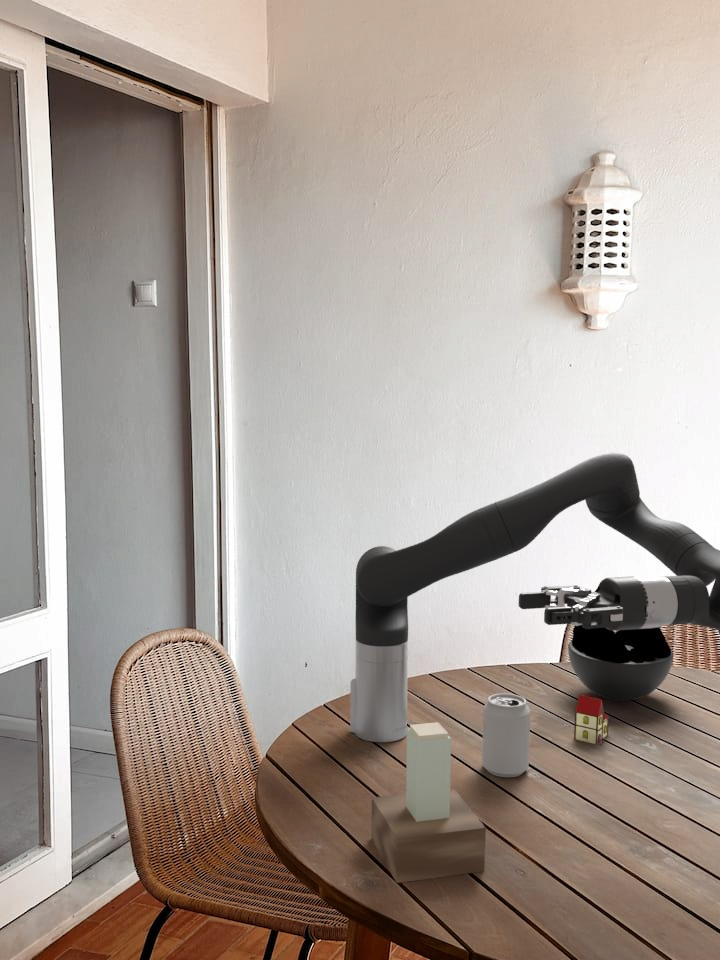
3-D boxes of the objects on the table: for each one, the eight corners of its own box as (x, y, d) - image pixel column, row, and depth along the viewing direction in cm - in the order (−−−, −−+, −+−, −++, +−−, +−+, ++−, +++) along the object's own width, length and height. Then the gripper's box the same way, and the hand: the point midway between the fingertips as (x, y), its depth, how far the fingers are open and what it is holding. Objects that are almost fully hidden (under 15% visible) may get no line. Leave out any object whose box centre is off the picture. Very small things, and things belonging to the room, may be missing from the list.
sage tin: (405, 806, 134) (407, 724, 133) (437, 802, 135) (439, 721, 134) (416, 821, 130) (417, 737, 128) (449, 817, 131) (451, 733, 130)
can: (527, 781, 157) (529, 708, 155) (480, 777, 158) (481, 704, 156) (529, 762, 164) (531, 692, 162) (483, 758, 165) (485, 689, 164)
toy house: (573, 744, 173) (575, 699, 172) (575, 731, 179) (576, 687, 178) (607, 748, 171) (609, 702, 170) (608, 734, 178) (610, 690, 177)
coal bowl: (684, 717, 185) (689, 619, 183) (577, 715, 185) (581, 617, 183) (654, 681, 205) (658, 593, 203) (557, 680, 205) (560, 592, 203)
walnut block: (371, 838, 138) (371, 797, 137) (452, 828, 141) (453, 788, 140) (396, 882, 126) (397, 838, 125) (484, 871, 129) (485, 827, 128)
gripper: (612, 566, 148) (512, 571, 144) (665, 588, 134) (555, 594, 130) (610, 615, 149) (510, 621, 145) (662, 642, 135) (553, 649, 131)
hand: (532, 608), depth 138 cm, fingers open, 8 cm apart
